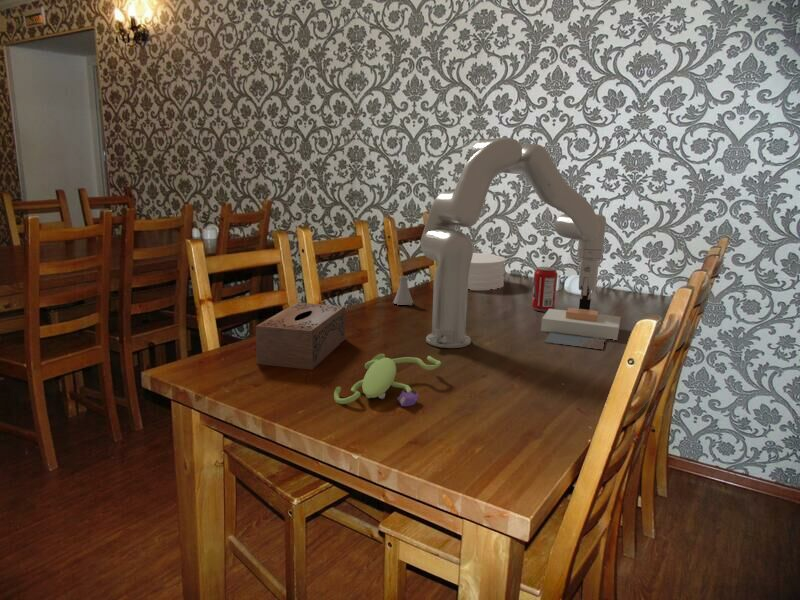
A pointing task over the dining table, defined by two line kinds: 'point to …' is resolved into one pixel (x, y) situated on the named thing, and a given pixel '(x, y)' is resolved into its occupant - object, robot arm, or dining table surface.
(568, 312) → the tile
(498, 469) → the dining table surface
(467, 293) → the robot arm
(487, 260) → the plate stack
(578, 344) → the mat
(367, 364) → the figurine
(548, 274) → the soda can
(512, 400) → the dining table surface
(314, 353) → the tissue box cover
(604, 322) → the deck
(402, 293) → the flask
